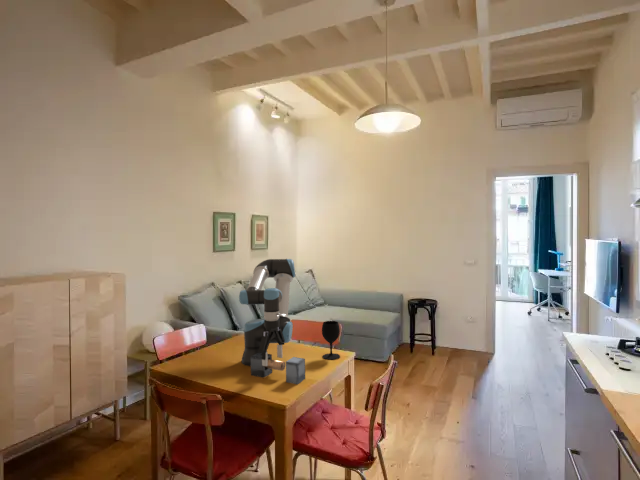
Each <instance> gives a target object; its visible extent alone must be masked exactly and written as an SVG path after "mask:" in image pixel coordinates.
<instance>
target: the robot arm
mask: <svg viewBox="0 0 640 480" xmlns="http://www.w3.org/2000/svg"><path fill="white" fill-rule="evenodd" d="M295 269H296V268H295V262H294V260H293V259H292V258H273V259H272V258H269V259H265V260H263V261H261V262H259V263H258V264H257V265H256V266H255V267H254V268H253V272H252V277H251V280H250V281H249V283H248V286H247V289H243V290H240V292H239V297H238V298H239V300H238V301H239V304H241V305H246V306H247V305H250V306H251V305H264V307H263V308H264V310H263V313H264V314H263V315H264V316H263V318H256V319H251V320H249V321H247V322H245V323H244V325H243V326H244V328H243V329H244V330H243V332H244V333H243V336H244V337H243V338H244V349H243V353H242V355H241V364H243V366H248V367H251V356H253V355H255V354H257V353H262V366H268V357H267V354H269V353H268V349H269V346H270V344H277V345H276V351H277V352H276V355H277V358H280V359H283V345H285V344H287V343H289V342H290V341H291V339H292V335H293V327H294V326H293V322H292V321H291V318H290V317H289V304H290V302H289V301H290V289H291V288H290V285H291V282H293V279H294V278H296V270H295ZM269 278H273V280H274V281H275V288H273V287H270V288H269V287H268V288H265V289H263V286H264V285H265V284H264V283H265V281H266V280H267V279H269Z"/></svg>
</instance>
